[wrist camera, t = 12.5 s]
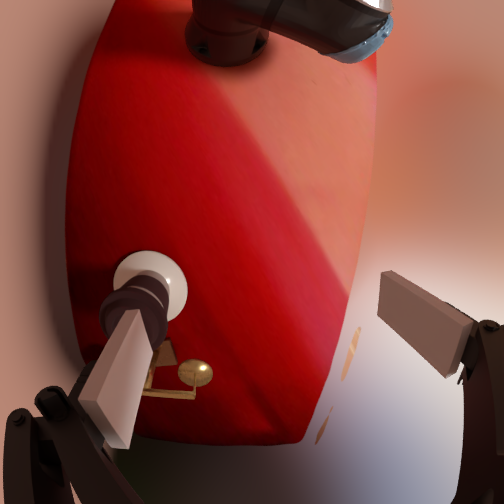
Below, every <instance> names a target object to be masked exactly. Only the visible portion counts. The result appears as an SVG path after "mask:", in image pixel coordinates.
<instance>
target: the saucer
mask: <svg viewBox="0 0 504 504" xmlns="http://www.w3.org/2000/svg"><path fill="white" fill-rule="evenodd" d="M146 270H151V271H155V272H157V273H159V274H161V275H162V276H163V277H164V278H165V279H166V281H167V283H168V285H169V289H170V295H169V307H168V313H167V320H168V321H169V320H172V319H173V318H174V317H176V316H177V315H178V314H179V313H180V312H181V310H182V309H183V307H184V305H185V302H186V299H187V282H186V278H185V276H184V274H183V272H182V270H181V269H180V267H179V266H178V265H177V264H176V263H175V262H174V261H173V260H172V259H171V258H169V257H168V256H166V255H164V254H162V253H159V252H156V251H139V252H136V253H133V254H131V255H129V256H128V257H127V258H125V259H124V260H123V261H122V262H121V263H120V265H119V266H118V268H117V270H116V272H115V276H114V290H116V289H119V288H120V287H121V286H122V285H124V284H125V283H126V282H127V281H128V280H129V279H131V278H132V277H134V276H135V275H137V274H138V273H140V272H142V271H146Z"/></svg>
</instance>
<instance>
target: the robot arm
mask: <svg viewBox="0 0 504 504" xmlns="http://www.w3.org/2000/svg"><path fill="white" fill-rule="evenodd" d="M192 8H193V14H192V16H191V17H190V19H189V21H188V23H187V25H186V29H185V39H186V44H187V47H188V49H189V51H190V52H191V53H192V54H193V55H194V56H195V57H196V58H197V59H199V60H201V61H202V62H205V63H207V64H210V65H214V66H221V67H231V66H238V65H242V64H245V63H247V62H249V61H251V60H253V59H255V58H256V57H257V56H258V55H259V54H260V53H261V52H262V51H263V49H264V48H265V46H266V43H267V41H268V37H269V31H271V32H274V33H277V34H279V35H282V36H284V37H287V38H289V39H292V40H294V41H297V42H299V43H301V44H303V45H306V46H308V47H310V48H312V49H314V50H316V51H318V53H320V54H321V55H325V56H329V57H331V58H333V59H335V60H337V61H339V62H342V63H347V64H348V63H349V64H352V63H357V62H360V61H362V60H364V59H366V58H367V57H369V56H370V55H371V54H373V53H374V52H375V51H376V50H377V49H378V48H379V47H380V46H381V45H382V44H383V43H384V39H385V38H386V37H388V36H389V34H390V33H391V31H392V28H393V19H392V17H391V16H390V13H391V12H392V10H393V4H392V0H192ZM377 315H378V316H379V317H380V318H381V319H382V320H383V321H384V322H385V323H386V324H388V325H389V326H390V327H391V328H392V329H393V330H394V331H395V332H396V333H397V334H399V335H400V336H401V337H402V338H403V339H404V340H405V341H406V342H407V343H408V344H410V345H411V346H412V347H413V348H414V349H415V350H416V351H417V352H418V353H419V354H420V355H421V356H422V357H423V358H424V359H425V360H427V361H428V362H429V363H430V364H431V365H432V366H433V367H434V368H435V369H436V370H437V371H438V372H439V373H440V374H441V375H442V376H443V377H444V378H448V377H449V376H451V375H453V374H454V373H456V372H457V369H458V367H459V364H460V362H462V363H463V364H464V368H463V370H462V372H461V375H460V377H459V380H458V383H457V384H459V383H460V381H461V380H462V379H463V383H462V385H463V391H464V430H463V448H462V458H461V466H460V474H459V480H458V486H457V491H456V495H455V497H454V499H453V501H452V502H451V504H504V325H501V326H500V325H499V324H498V323H497V322H494V321H492V320H482V321H480V322H477V321H476V320H474V319H473V318H471V317H470V316H468V315H466V314H465V313H463V312H461V311H460V310H459V309H457V308H455V307H454V306H452V305H450V304H449V303H447V302H444V301H441V300H440V299H439V298H437V297H435V296H434V295H432V294H430V293H429V292H427V291H425V290H424V289H422V288H420V287H419V286H417V285H415V284H414V283H412V282H410V281H408V280H407V279H405V278H404V277H402V276H400V275H398V274H397V273H395V272H393V271H392V270H391V271H386V272H382V273H381V280H380V292H379V304H378V313H377ZM152 355H153V351H152V348H151V345H150V342H149V339H148V336H147V333H146V330H145V327H144V323H143V320H142V317H141V313H140V310H139V309H136V310H126V311H125V313H124V315H123V316H122V318H121V320H120V321H119V323H118V325H117V326H116V328H115V330H114V332H113V333H112V335H111V337H110V339H109V340H108V342H107V344H106V346H105V348H104V349H103V351H102V353H101V355H100V357H99V359H98V360H97V361H91V362H89V363H88V364H87V365H86V366H85V367H84V369H83V370H82V372H81V374H80V377H78V379H77V381H76V383H75V384H74V386H73V388H72V390H71V392H70V394H69V396H68V397H67V395H66V394H65V392H64V391H63V389H62V388H61V387H58V386H49V387H46V388H44V389H42V390H41V391H40V392H39V393H38V394H37V396H36V397H35V403H34V404H35V405H36V407H37V408H38V410H39V411H40V412H41V414H42V415H43V417H33V416H32V415H31V413H30V412H29V411H28V410H27V409H25V408H19V409H16V410H14V411H13V412H11V414H10V415H9V416H8V418H7V422H6V431H5V441H4V456H3V489H4V504H75V502H74V498H73V494H72V490H71V485H70V482H71V484H72V486H73V488H74V490H75V492H76V494H77V496H78V498H79V500H80V502H81V503H82V504H145V503H144V502H143V501H142V500H141V499H140V497H139V496H138V495H137V494H136V492H135V491H134V490H133V489H132V487H131V486H130V485H129V483H128V482H127V481H126V479H125V478H124V477H123V475H122V474H121V472H120V471H119V470H118V468H117V467H116V465H115V464H114V462H113V461H112V459H111V458H110V456H109V455H108V453H107V452H106V450H105V449H104V448H103V443H104V440H106V441H107V442H108V444H109V445H110V446H111V447H113V448H122V449H129V445H130V440H131V435H132V431H133V427H134V423H135V419H136V414H137V410H138V406H139V402H140V398H141V395H142V391H143V387H144V383H145V380H146V376H147V372H148V369H149V365H150V362H151V358H152Z"/></svg>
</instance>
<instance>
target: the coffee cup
mask: <svg viewBox="0 0 504 504" xmlns="http://www.w3.org/2000/svg"><path fill="white" fill-rule="evenodd" d="M169 295H170V289H169V285H168V283H167V281H166V279H165V278H164V277H163V276H162V275H161V274H159V273H157V272H155V271H151V270H146V271H142V272H140V273H138V274H137V275H135V276H134V277H132V278H131V279H129V280H128V281H127V282H126V283H125V284H124V285H122V286H121V287H120V288H119V289H116V290H114V291H113V292H111V293H110V294H109V295H108V296H107V297H106V298H105V300H104V301H103V302H102V305H101V307H100V311H99V321H100V325H101V328H102V330H103V332H104V334H105V335H106V337H107V338H108V339H110V337H111V335H112V333H113V332H114V330H115V328H116V326H117V325H118V323H119V321H120V320H121V318H122V316H123V315H124V313H125V311H126V310H136V309H139V310H140V313H141V317H142V320H143V323H144V327H145V330H146V333H147V336H148V339H149V342H150V345H151V348H152V351H154V350H156V349H157V348H158V347H159V346H160V345H161V344H162V343H163V341H164V339H165V337H166V333H167V329H168V320H167V313H168V307H169Z"/></svg>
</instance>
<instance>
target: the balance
mask: <svg viewBox="0 0 504 504" xmlns="http://www.w3.org/2000/svg"><path fill="white" fill-rule="evenodd" d="M177 363H178V360H177V357H176V354H175V351H174V348H173V345H172V342H171V339H170V337H169V338H165V339H164V341H163V343H162V344H161V345H160V346H159V347H158V348H157V349H156V350H154V351H153V355H152V358H151V362H150V365H149V369H148V372H147V376H146V380H145V383H144V387H143V391H142V395H146V396H156V397H167V398H181V399H195V397H196V395H195V391H196V386H203V385H205V384H207V383H209V382H210V380H211V379H212V376H213V373H212V368H211V366H210V365H209V364H208V363H207V362H205V361H203V360H200V359H188V360H185V361H184V362H182V363H181V364H180V366H179V369H178V375H179V378H180V379H181V380H182V381H183V382H184V383H186V384H188V385H190V386H194V392H191V391H172V390H159V389H150V388H151V384H152V380H153V376H154V372H155V368H156V366H166V365H176V364H177Z"/></svg>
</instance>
